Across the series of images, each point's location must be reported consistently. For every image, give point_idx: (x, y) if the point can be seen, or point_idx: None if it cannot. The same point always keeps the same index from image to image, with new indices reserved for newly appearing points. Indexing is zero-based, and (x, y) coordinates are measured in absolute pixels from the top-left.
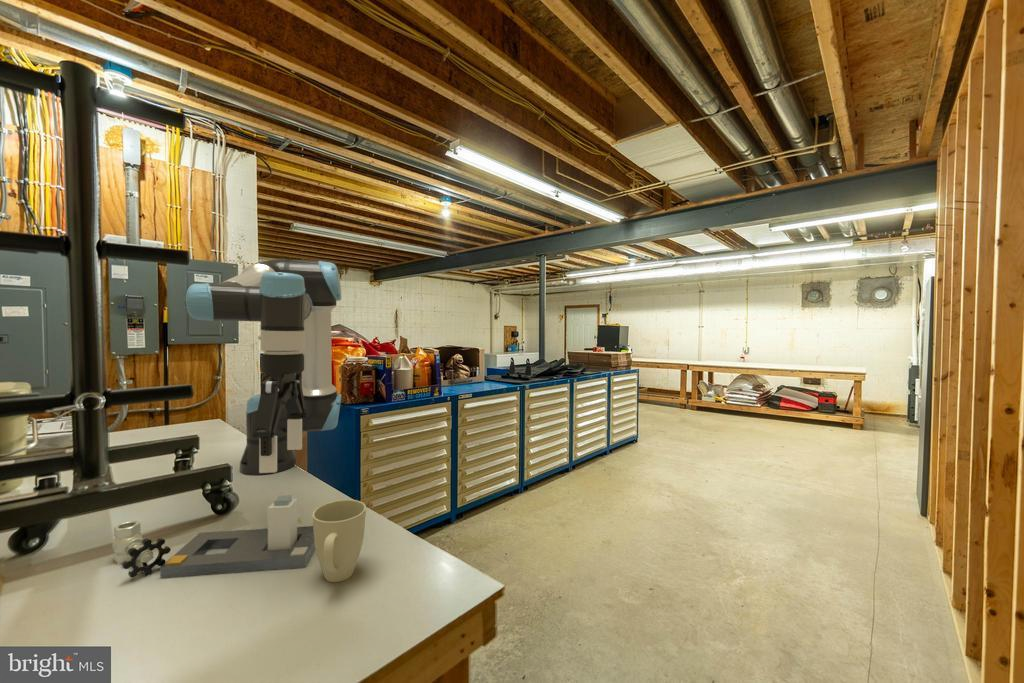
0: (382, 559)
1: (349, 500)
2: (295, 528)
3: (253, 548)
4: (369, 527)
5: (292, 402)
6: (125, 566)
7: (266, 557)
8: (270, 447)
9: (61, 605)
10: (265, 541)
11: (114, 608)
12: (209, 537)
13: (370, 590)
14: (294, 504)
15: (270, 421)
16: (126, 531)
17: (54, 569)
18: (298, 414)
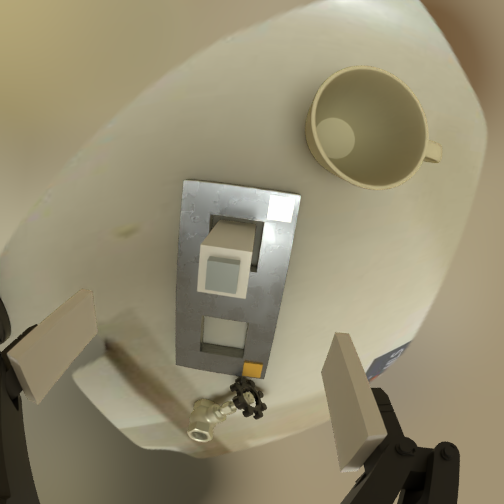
0: (308, 71)
1: (317, 100)
2: (223, 228)
3: None
4: (183, 96)
5: (17, 477)
6: (266, 407)
7: (282, 260)
8: (381, 410)
9: (286, 417)
10: None
11: (311, 383)
12: (192, 351)
13: None
14: (221, 245)
15: (454, 495)
16: (210, 432)
17: (217, 439)
18: (4, 383)
